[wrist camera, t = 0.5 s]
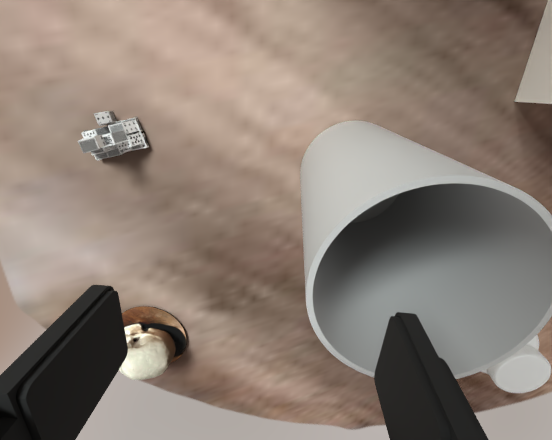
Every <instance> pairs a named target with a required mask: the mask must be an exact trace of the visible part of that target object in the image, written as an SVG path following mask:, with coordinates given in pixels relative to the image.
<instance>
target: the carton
mask: <svg viewBox="0 0 552 440" xmlns="http://www.w3.org/2000/svg"><path fill="white" fill-rule="evenodd" d="M514 102H527V103H544V104H552V0H548V2H547V5H546V8H545V11H544V14H543V17H542V20H541V23H540V26H539V29H538V32H537V35H536V38H535V41H534V44H533V47H532V50H531V53H530V56H529V59H528V62H527V65H526V68H525V71H524V74H523V77H522V80H521V83H520V86H519V89H518V92H517V95H516V98H515V101H514Z"/></svg>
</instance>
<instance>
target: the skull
mask: <svg viewBox="0 0 552 440" xmlns="http://www.w3.org/2000/svg"><path fill="white" fill-rule="evenodd" d="M122 318H123V324H124V329H125V335H126V340H127V346H128V353H127V356H126V359H125V360H124V362H123V364H122V365H121V367H120V368H119V370H120V372H121V373H122V374H124V375H125V376H127V377H128V378H130V379H133V380H143V379H149V378H154V377H156V376H159V375H161V374H162V373H164V372H165V370H166V369H167V368H168V366H169V365H170V363H172V362H174V361H176V360H177V359H178V358H179V357H180V356H181V355H182V354H183V352H184V350H185V348H186V334H185V331H184V329H183V327H182V326H181V324H180V323H179V322H178V321H177V320H176V319H175V318H174V317H173V316H171V315H170V314H169V313H167V312H165V311H163V310H160V309H158V308H154V307H135V308H131V309H129V310H127V311H125V312H124V313H122Z"/></svg>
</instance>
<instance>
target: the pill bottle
mask: <svg viewBox="0 0 552 440" xmlns="http://www.w3.org/2000/svg"><path fill="white" fill-rule="evenodd" d="M538 349H539V338H538V335H536V336H535V337H534V338H533V339H532V340H531V341H530V342H528V343H527V344H526V345H525V346H524V347H522V348H521V349H520V350H518V351H517V352H516V353H514V354H513V355H511V356H510V357H508V358H507V359H505V360H503V361H501V362H500V363H498V364H496V365H494V366H492V367H490V368H488V369H485V370H483V371H480V372H483V373H487V374H489V376H490V377H491V378H492V380H493V381H494V383H495V384H496V385H497V386H498V387H499V388H500V389H502V390H504V391H507V392H510V393H525V392H529V391H533V390H535V389H537V388H539V387H541V386H542V385H543V384H544V383H545V382H546V381H547V380H548V379H549V377H550V375H551V366H550V363H549V362H548V360H547V359H546V358H545V357H544V356H543V355H542V354H541V353H540V352H539V351H538Z"/></svg>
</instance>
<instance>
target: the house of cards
mask: <svg viewBox="0 0 552 440" xmlns="http://www.w3.org/2000/svg"><path fill="white" fill-rule="evenodd" d="M93 114H94V116H95V118H96V121H97V123H98V125H99V126H101V125H107V124H108V123H109V124H108V126H107V127H102V128H98V129H94V130H89V131H88V130H85V131H84V132H82V136H83V138H84V139H82V140H79V141H78V143H79V145H80V147H81V149H82V151H83V153H87V152H90V151H91V153H92V156H93V155H94V156H95V158H96V160H101V159H103V158H108V156H109V158H110V157H114V156H118V155H122V154H124V153H125V152H128V151H131V150H132V151H133V150H139V149H143V148H148V147H149V145H148V142H147V139H146V137H145V134H144V133H141V131H142V128H141V126H140V123H139V120H138V118H137V117H133V118H132V119H128V120H124V121H122V122H121V121H117V120H116V118H115V115H114V113H113V111H105V112H99V113H93ZM112 122H113V123H112Z"/></svg>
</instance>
